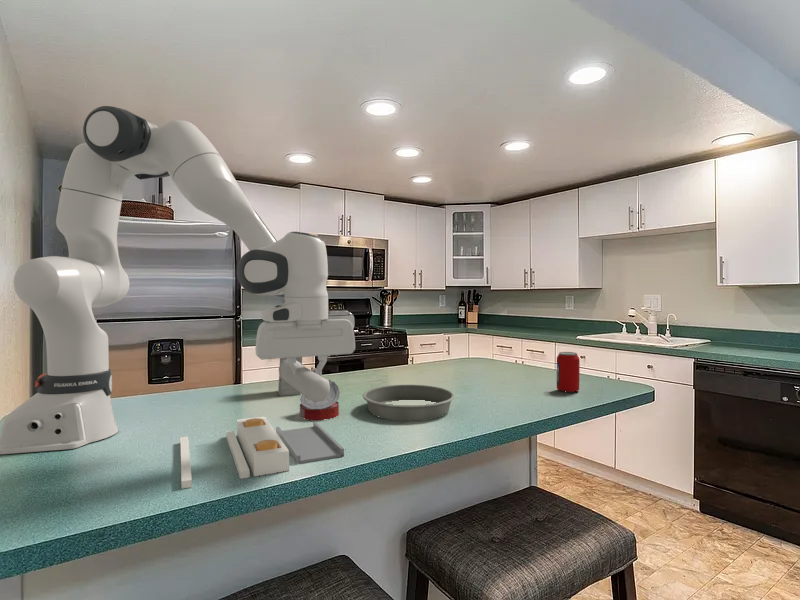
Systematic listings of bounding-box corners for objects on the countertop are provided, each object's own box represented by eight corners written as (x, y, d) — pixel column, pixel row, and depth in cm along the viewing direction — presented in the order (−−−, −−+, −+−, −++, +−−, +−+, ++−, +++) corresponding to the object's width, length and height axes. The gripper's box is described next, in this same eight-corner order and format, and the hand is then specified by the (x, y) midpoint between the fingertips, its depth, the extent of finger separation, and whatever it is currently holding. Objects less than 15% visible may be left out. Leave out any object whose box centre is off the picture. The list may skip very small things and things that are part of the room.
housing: (181, 488, 75) (181, 467, 75) (180, 442, 97) (180, 426, 97) (289, 470, 82) (289, 450, 82) (265, 431, 105) (264, 416, 105)
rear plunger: (246, 440, 97) (246, 424, 97) (244, 435, 100) (244, 419, 100) (264, 438, 99) (264, 421, 99) (261, 433, 102) (261, 417, 102)
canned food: (340, 432, 120) (353, 401, 117) (305, 436, 113) (319, 403, 110) (321, 404, 128) (333, 374, 125) (287, 406, 121) (299, 375, 118)
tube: (337, 378, 86) (303, 360, 108) (309, 374, 84) (281, 356, 106) (331, 407, 86) (298, 383, 108) (303, 404, 83) (275, 379, 106)
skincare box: (278, 390, 148) (277, 341, 147) (301, 389, 150) (300, 340, 150) (279, 396, 140) (279, 344, 139) (303, 395, 142) (303, 343, 141)
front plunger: (258, 466, 83) (258, 447, 83) (255, 460, 86) (255, 441, 86) (279, 463, 84) (279, 444, 84) (275, 457, 88) (275, 438, 87)
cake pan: (347, 419, 116) (347, 401, 116) (380, 397, 140) (380, 382, 140) (444, 427, 109) (444, 408, 109) (462, 402, 133) (462, 387, 133)
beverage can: (564, 387, 151) (564, 351, 151) (583, 391, 146) (583, 353, 146) (552, 390, 147) (552, 352, 147) (572, 394, 142) (572, 355, 141)
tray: (297, 464, 86) (297, 455, 86) (276, 433, 104) (276, 427, 104) (344, 456, 89) (343, 448, 89) (315, 428, 107) (315, 422, 107)
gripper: (349, 309, 103) (349, 371, 104) (253, 311, 94) (254, 379, 95) (359, 310, 98) (359, 376, 98) (258, 313, 89) (259, 385, 89)
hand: (307, 378), depth 96 cm, fingers closed on tube, 3 cm apart
